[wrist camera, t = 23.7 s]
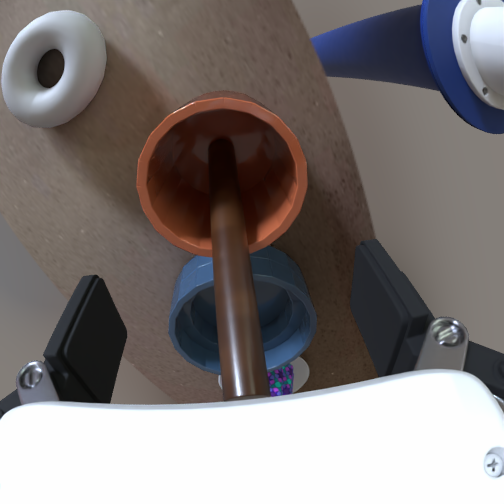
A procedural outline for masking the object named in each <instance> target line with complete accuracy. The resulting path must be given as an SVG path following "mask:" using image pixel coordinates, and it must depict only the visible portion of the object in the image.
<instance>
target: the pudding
mask: <svg viewBox="0 0 504 504" xmlns="http://www.w3.org/2000/svg"><path fill="white" fill-rule="evenodd" d="M308 377H309V367H308V365H307V363H306V362H305V361H304V360H303V359H302V358H300V357H298V358H297V359H295V360H294V361H292V362H290V363H289V364H287V365H285V366H284V367H282V368H280V369H277V370H274V371H271V372H268V380H269V386H270V393H271V397H275V396H282V395H289V394H292V393H294V392H295V391H297V390H298V389H300V388H301V387H302V386H303V385H304V384H305V382H306V381H307V379H308ZM219 384H220V386H221V388H222V379H221V375H219Z"/></svg>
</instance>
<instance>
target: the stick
mask: <svg viewBox="0 0 504 504" xmlns="http://www.w3.org/2000/svg"><path fill="white" fill-rule="evenodd" d="M208 168H209V197H210V221H211V242H212V260H213V277H214V292H215V307H216V320H217V333H218V345H219V357H220V368H221V379H222V390H223V400H224V402H227V401H239V400H249V399H258V398H266V397H271V393H270V386H269V380H268V373H267V366H266V360H265V353H264V346H263V340H262V333H261V326H260V320H259V313H258V306H257V300H256V293H255V286H254V280H253V273H252V266H251V259H250V253H249V246H248V239H247V233H246V226H245V219H244V212H243V205H242V199H241V192H240V185H239V178H238V171H237V165H236V158H235V151H234V146H233V144H232V143H231V142H230V141H228V140H226V139H217V140H215V141H213V142H212V143H211V144H210V145H209V147H208Z"/></svg>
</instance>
